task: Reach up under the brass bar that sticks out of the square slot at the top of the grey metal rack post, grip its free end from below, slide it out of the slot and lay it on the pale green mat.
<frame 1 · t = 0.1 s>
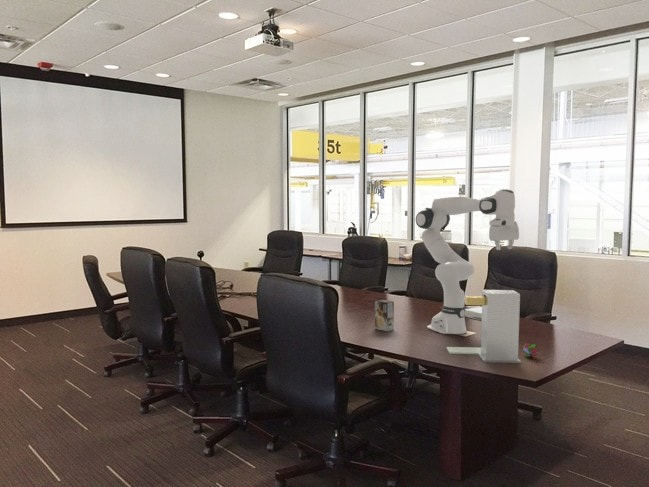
hand: (504, 249, 262), 48 cm above the table, tool pointing down, fingers open, 8 cm apart
coffee box: (384, 329, 294), on the table
rack post: (498, 358, 239), on the table
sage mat: (471, 351, 251), on the table
disc drive: (486, 317, 329), on the table
geometric puzzle: (530, 357, 242), on the table
brass bar: (486, 304, 238), point 25 cm above the table, touching rack post
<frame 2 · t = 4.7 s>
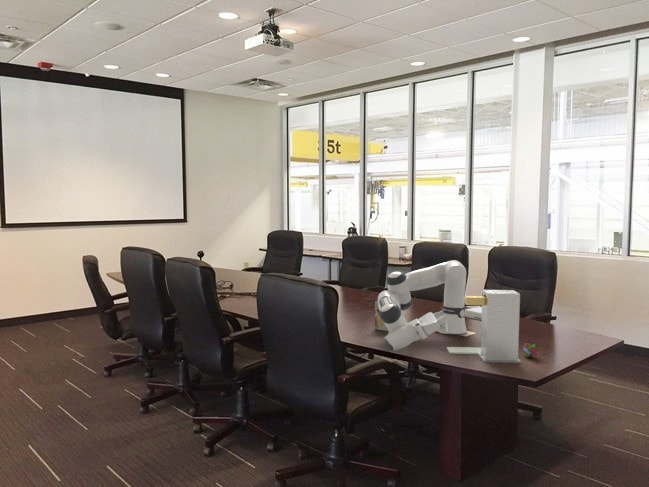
hand: (445, 314, 239), 20 cm above the table, tool pointing upward, fingers open, 8 cm apart
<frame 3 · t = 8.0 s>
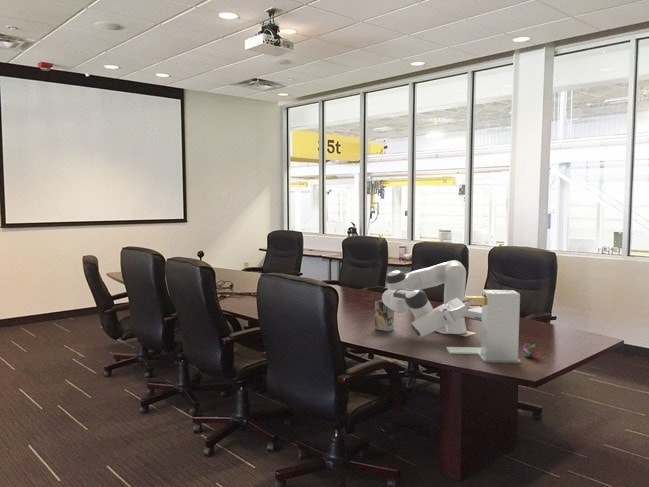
hand: (472, 299, 238), 27 cm above the table, tool pointing upward, fingers closed on brass bar, 3 cm apart
brass bar: (486, 304, 238), point 25 cm above the table, touching gripper, rack post
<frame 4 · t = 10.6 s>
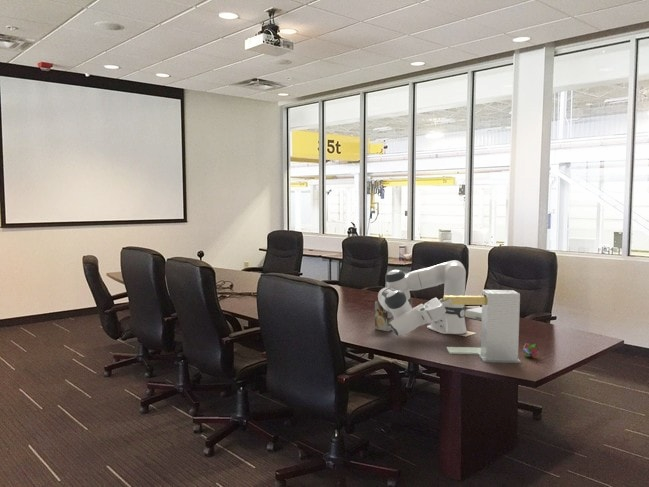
hand: (450, 299, 238), 27 cm above the table, tool pointing upward, fingers closed on brass bar, 3 cm apart
brass bar: (465, 303, 238), point 25 cm above the table, touching gripper
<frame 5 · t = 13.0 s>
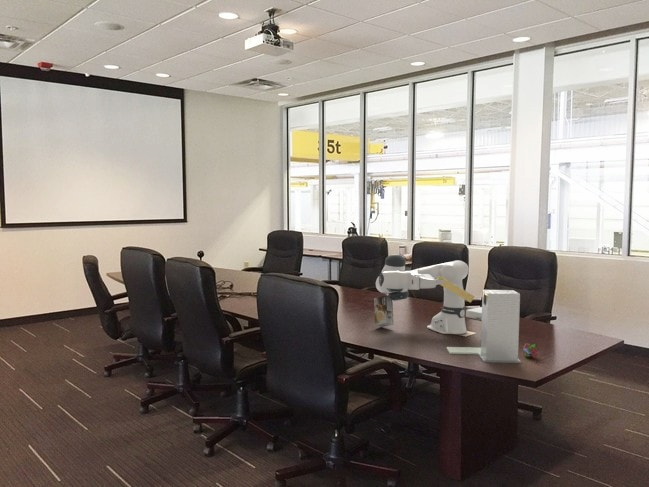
hand: (442, 280, 249), 34 cm above the table, tool horizontal, fingers closed on brass bar, 3 cm apart
coffee box: (384, 325, 295), point 2 cm above the table, touching arm
brass bar: (452, 292, 249), point 29 cm above the table, tilted 30°, touching gripper
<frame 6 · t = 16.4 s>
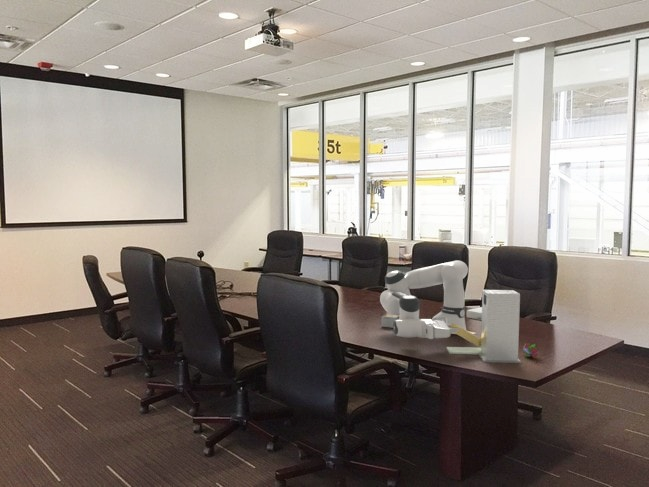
hand: (457, 328, 249), 11 cm above the table, tool horizontal, fingers closed on brass bar, 3 cm apart
coffee box: (388, 322, 297), point 3 cm above the table
brass bar: (467, 339, 249), point 6 cm above the table, tilted 29°, touching gripper
when the fingers open (5 cm above the table, at t = 17.8 s): brass bar drops 2 cm, resting on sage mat.
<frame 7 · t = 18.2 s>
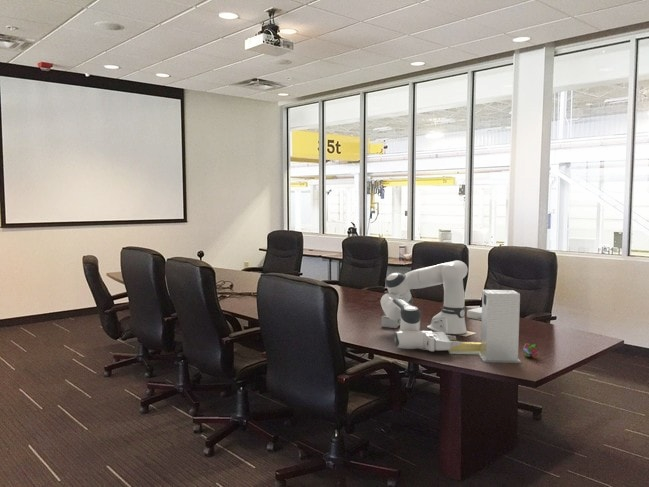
hand: (457, 340, 251), 5 cm above the table, tool horizontal, fingers open, 8 cm apart
brass bar: (468, 350, 250), point 1 cm above the table, touching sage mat
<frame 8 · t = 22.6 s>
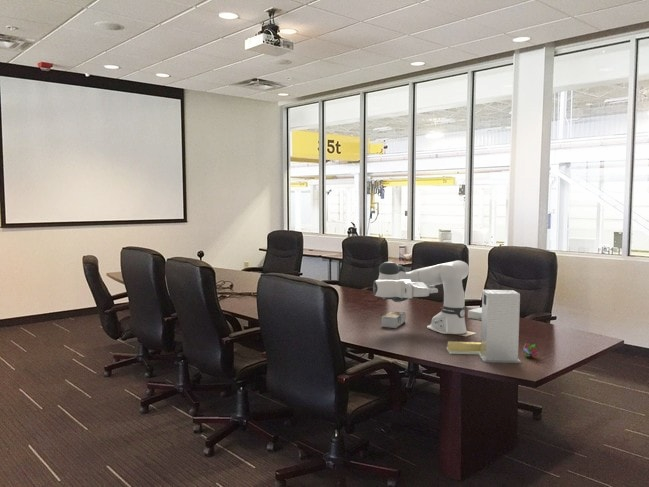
hand: (436, 289, 250), 30 cm above the table, tool horizontal, fingers open, 8 cm apart
at the end: brass bar inside the target area on the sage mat (1.5 cm from its centre), point 0.8 cm above the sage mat's base; brass bar touching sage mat; brass bar point 0.8 cm above the table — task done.
